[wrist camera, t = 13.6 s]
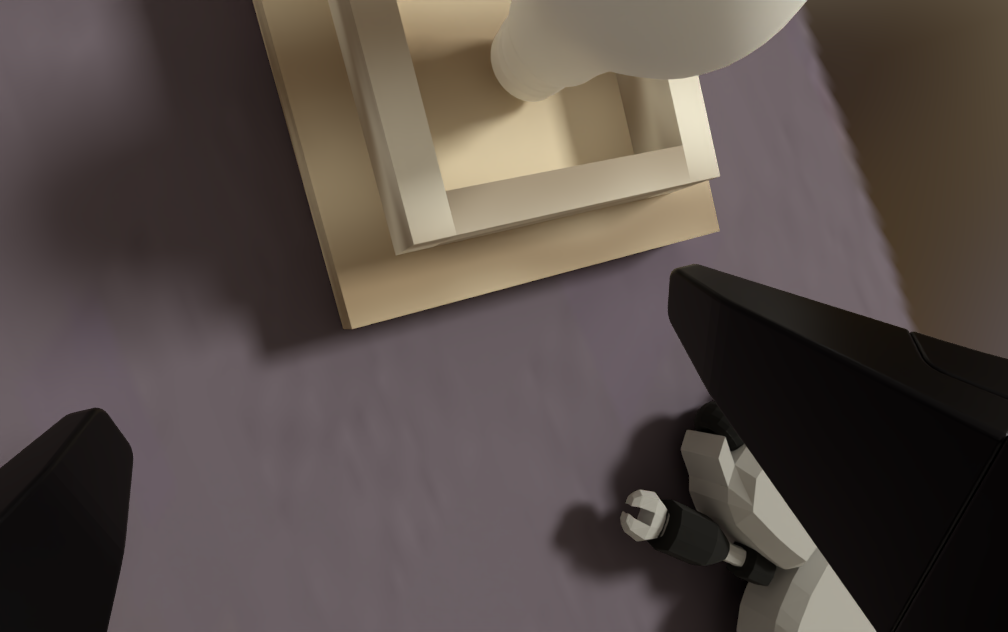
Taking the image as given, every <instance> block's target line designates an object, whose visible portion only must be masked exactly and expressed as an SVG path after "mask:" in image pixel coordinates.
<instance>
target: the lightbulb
mask: <svg viewBox="0 0 1008 632" xmlns="http://www.w3.org/2000/svg"><path fill="white" fill-rule="evenodd" d="M806 1H807V0H512V2H511V4H510V9H509V15H508V16H507V18H506V19H505V21H504V22H503V24H502V25H501V28H500V30H499V32H498V33H497V34H496V36H495V38H494V40H493V43H492V46H491V64H492V68H493V71H494V74H495V76H496V78H497V79H498V81H499V83H500V84H501V85H502V87H503V88H504V89H505V90H506V91H507V92H509V93H510V94H511V95H513V96H514V97H516V98H518V99H520V100H523V101H528V102H538V101H541V100H544V99H546V98H548V97H549V96H552V95H554V94H556V93H557V92H559V91H560V90H562V89H564V88H565V87H574V86H578V85H581V84H584V83H586V82H587V81H589V80H591V79H592V78H594V77H596V76H598V75H600V74H603V73H606V72H614V73H618V74H623V75H629V76H634V77H642V78H651V79H660V80H668V79H683V78H688V77H692V76H697V75H701V74H706V73H709V72H712V71H715V70H718V69H721V68H724V67H727V66H729V65H731V64H732V63H734V62H736V61H738V60H740V59H742V58H743V57H745V56H747V55H749V54H750V53H752V52H753V51H755V50H756V49H757V48H759V47H760V46H762V45H763V44H765V43H766V42H767V41H768V40H769V39H771V38H772V37H773V36H774V35H775V34H776V33H778V32H779V31H780V30H781V29H782V28H783V27H784V26H785V25H786V24H787V23H788V22H789V21H790V20H791V18H792V17H793V16H794V15H795V14H796V13H797V12H798V10H799V9H800V8H801V7H802V6H803V5H804V3H805V2H806Z"/></svg>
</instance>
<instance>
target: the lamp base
mask: <svg viewBox="0 0 1008 632" xmlns="http://www.w3.org/2000/svg"><path fill="white" fill-rule="evenodd" d="M252 1H253V5H254V8H255V12H256V16H257V19H258V23H259V26H260V30H261V34H262V37H263V41H264V44H265V48H266V52H267V55H268V59H269V62H270V66H271V70H272V73H273V77H274V81H275V84H276V88H277V91H278V95H279V99H280V102H281V106H282V109H283V113H284V117H285V120H286V124H287V127H288V131H289V135H290V138H291V142H292V146H293V149H294V153H295V156H296V160H297V164H298V167H299V171H300V174H301V178H302V182H303V185H304V189H305V193H306V196H307V200H308V203H309V207H310V211H311V214H312V218H313V221H314V225H315V229H316V232H317V236H318V239H319V243H320V247H321V250H322V254H323V258H324V261H325V265H326V268H327V272H328V276H329V279H330V283H331V286H332V290H333V294H334V297H335V301H336V304H337V308H338V312H339V315H340V319H341V323H342V326H343V329H355V328H359V327H362V326H366V325H370V324H374V323H377V322H381V321H385V320H389V319H392V318H396V317H400V316H403V315H407V314H411V313H415V312H418V311H422V310H426V309H430V308H433V307H437V306H441V305H445V304H448V303H452V302H456V301H460V300H463V299H467V298H471V297H475V296H478V295H482V294H486V293H490V292H493V291H497V290H501V289H505V288H508V287H512V286H516V285H519V284H523V283H527V282H531V281H534V280H538V279H542V278H546V277H549V276H553V275H557V274H561V273H564V272H568V271H572V270H576V269H579V268H583V267H587V266H591V265H594V264H598V263H602V262H606V261H609V260H613V259H617V258H621V257H624V256H628V255H632V254H635V253H639V252H643V251H647V250H650V249H654V248H658V247H662V246H665V245H669V244H673V243H677V242H680V241H684V240H688V239H692V238H695V237H699V236H703V235H707V234H710V233H714V232H718V231H720V230H719V226H718V221H717V217H716V212H715V207H714V203H713V198H712V194H711V189H710V185H709V180H711V179H713V178H716V177H719V176H720V174H719V169H718V164H717V160H716V155H715V151H714V146H713V142H712V137H711V132H710V128H709V123H708V119H707V114H706V109H705V105H704V100H703V96H702V91H701V87H700V82H699V77H698V75H697V76H692V77H688V78H683V79H668V80H660V79H651V78H642V77H634V76H629V75H623V74H618V73H614V72H606V73H603V74H600V75H598V76H596V77H594V78H592V79H591V80H589V81H587V82H586V83H584V84H581V85H578V86H574V87H565V88H564V89H562V90H560V91H559V92H557V93H556V94H554V95H552V96H549V97H548V98H546V99H544V100H541V101H538V102H528V101H523V100H520V99H518V98H516V97H514V96H513V95H511V94H510V93H509V92H507V91H506V90H505V89H504V88H503V87H502V85H501V84H500V83H499V81H498V79H497V78H496V76H495V74H494V71H493V68H492V64H491V46H492V43H493V40H494V38H495V36H496V34H497V33H498V32H499V30H500V28H501V25H502V24H503V22H504V21H505V19H506V18H507V16H508V15H509V9H510V4H511V2H512V0H252Z"/></svg>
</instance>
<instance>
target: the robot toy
mask: <svg viewBox="0 0 1008 632" xmlns="http://www.w3.org/2000/svg"><path fill="white" fill-rule="evenodd" d="M694 424H695V429H696V431H692V430H686V434H685V437H684V440H683V443H682V446H681V453H682V456H683V459H684V462H685V465H686V468H687V470H688V473H689V492H690V494H691V497H692V500H693V502H694V505H695V508H696V510H697V511H696V510H694V509H692V508H690V507H687V506H685V505H683V504H681V503H679V502H676V501H674V500H672V499H670V500H660V499H659V497H658V496H657V495H656V493H655V492H651V491H645V490H637V491H634V492H632V493H631V494H630V495H629V496H628V498H627V500H626V504H629V505H631V506H635V507H640V508H641V509H640V512H639V514H638V517H637V519H635V518H633V517H632V516H631V515H630V514H629V513H625V512H624V511H622V514H621V517H620V520H621V526H622V528H623V530H624V532H625V533H627V534H628V535H629V536H630V537H632V538H633V539H634V540H636V541H643V540H647V541H648V542H649V543H650V544H651V546H652V547H653V548H654V549H656V550H658V551H660V552H663V553H665V554H668V555H670V556H672V557H675V558H677V559H680V560H682V561H684V562H687V563H689V564H694V565H702V566H707V565H711V564H715V563H718V562H721V561H725V562H727V568H728V569H729V570H730V571H731V572H732V573H733V574H734V575H735V576H736V577H739V578H741V579H744V580H746V581H748V584H747V586H746V589H745V592H744V595H743V598H742V601H741V604H740V608H739V615H738V623H737V632H876V630H875V629H874V627H873V626H872V625H871V623H870V622H869V620H868V619H867V618H866V616H865V615H864V613H863V612H862V610H861V609H860V608H859V606H858V605H857V603H856V602H855V600H854V599H853V598H852V596H851V595H850V593H849V592H848V590H847V589H846V588H845V586H844V585H843V583H842V582H841V581H840V579H839V578H838V576H837V575H836V573H835V572H834V571H833V569H832V568H831V566H830V565H829V563H828V562H827V561H826V559H825V558H824V556H823V555H822V553H821V552H820V551H819V549H818V548H817V546H816V545H815V544H814V542H813V541H812V539H811V538H810V536H809V535H808V534H807V532H806V531H805V529H804V528H803V526H802V525H801V524H800V522H799V521H798V519H797V518H796V516H795V515H794V514H793V512H792V511H791V509H790V508H789V507H788V505H787V504H786V502H785V501H784V499H783V498H782V497H781V495H780V494H779V492H778V491H777V489H776V488H775V487H774V485H773V484H772V482H771V481H770V479H769V478H768V477H767V475H766V474H765V472H764V471H763V469H762V468H761V467H760V465H759V464H758V462H757V461H756V460H755V458H754V457H753V455H752V454H751V452H750V451H749V450H748V448H747V447H746V445H745V444H744V442H743V441H742V440H741V438H740V437H739V435H738V434H737V432H736V431H735V430H734V428H733V427H732V425H731V424H730V423H729V421H728V420H727V418H726V417H725V415H724V414H723V413H722V411H721V410H720V408H719V407H718V405H717V404H716V403H715V401H713V402H709V403H706V404H705V405H703V406H702V407H701V408H700V410H699V411H698V412H697V414H696V416H695V419H694ZM729 541H730V542H729Z"/></svg>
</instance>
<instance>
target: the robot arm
mask: <svg viewBox="0 0 1008 632" xmlns="http://www.w3.org/2000/svg"><path fill="white" fill-rule="evenodd" d="M668 316H669V319H670V322H671V324H672V326H673V328H674V330H675V332H676V334H677V335H678V337H679V339H680V341H681V343H682V345H683V346H684V348H685V350H686V352H687V354H688V356H689V358H690V359H691V361H692V363H693V365H694V367H695V369H696V371H697V372H698V374H699V376H700V378H701V380H702V382H703V383H704V385H705V387H706V389H707V390H708V392H709V394H710V395H711V397H712V398H713V400H714V401H715V403H716V404H717V405H718V407H719V408H720V410H721V411H722V413H723V414H724V415H725V417H726V418H727V420H728V421H729V423H730V424H731V425H732V427H733V428H734V430H735V431H736V432H737V434H738V435H739V437H740V438H741V440H742V441H743V442H744V444H745V445H746V447H747V448H748V450H749V451H750V452H751V454H752V455H753V457H754V458H755V460H756V461H757V462H758V464H759V465H760V467H761V468H762V469H763V471H764V472H765V474H766V475H767V477H768V478H769V479H770V481H771V482H772V484H773V485H774V487H775V488H776V489H777V491H778V492H779V494H780V495H781V497H782V498H783V499H784V501H785V502H786V504H787V505H788V507H789V508H790V509H791V511H792V512H793V514H794V515H795V516H796V518H797V519H798V521H799V522H800V524H801V525H802V526H803V528H804V529H805V531H806V532H807V534H808V535H809V536H810V538H811V539H812V541H813V542H814V544H815V545H816V546H817V548H818V549H819V551H820V552H821V553H822V555H823V556H824V558H825V559H826V561H827V562H828V563H829V565H830V566H831V568H832V569H833V571H834V572H835V573H836V575H837V576H838V578H839V579H840V581H841V582H842V583H843V585H844V586H845V588H846V589H847V590H848V592H849V593H850V595H851V596H852V598H853V599H854V600H855V602H856V603H857V605H858V606H859V608H860V609H861V610H862V612H863V613H864V615H865V616H866V618H867V619H868V620H869V622H870V623H871V625H872V626H873V627H874V629H875V630H876V632H1008V359H1006V358H1002V357H998V356H994V355H991V354H987V353H983V352H980V351H977V350H973V349H969V348H967V347H963V346H960V345H956V344H953V343H950V342H946V341H943V340H939V339H936V338H933V337H930V336H927V335H924V334H921V333H917V332H911V333H909V331H908V330H907V329H904V328H901V327H898V326H895V325H891V324H888V323H885V322H882V321H878V320H875V319H872V318H869V317H866V316H862V315H859V314H856V313H853V312H850V311H846V310H843V309H840V308H837V307H833V306H830V305H827V304H824V303H821V302H817V301H814V300H811V299H808V298H805V297H801V296H798V295H795V294H792V293H789V292H785V291H782V290H779V289H776V288H772V287H769V286H766V285H763V284H760V283H756V282H753V281H750V280H747V279H744V278H740V277H737V276H734V275H731V274H728V273H724V272H721V271H718V270H715V269H712V268H708V267H705V266H702V265H699V264H692V265H687V266H683V267H679V268H676V269H674V270H673V271H672V272H671V275H670V282H669V297H668ZM132 468H133V453H132V449H131V446H130V444H129V443H128V441H127V440H126V438H125V437H124V436H123V434H122V433H121V432H120V430H119V429H118V427H117V426H116V425H115V423H114V422H113V420H112V419H111V418H110V416H109V415H108V414H107V413H106V412H105V411H104V410H103V409H100V408H91V409H87V410H83V411H78V412H74V413H70V414H68V415H66V416H65V417H63V418H62V419H61V420H59V421H58V422H57V423H56V424H54V425H53V426H52V427H51V428H50V429H48V430H47V431H46V432H45V433H43V434H42V435H41V436H40V437H38V438H37V439H36V440H35V441H33V442H32V443H31V444H30V445H28V446H27V447H26V448H25V449H23V450H22V451H21V452H20V453H18V454H17V455H16V456H15V457H13V458H12V459H11V460H10V461H9V462H7V463H6V464H5V465H4V466H2V467H1V468H0V632H107V630H108V625H109V620H110V616H111V611H112V607H113V602H114V598H115V593H116V589H117V584H118V579H119V575H120V570H121V565H122V560H123V555H124V548H125V541H126V532H127V521H128V511H129V500H130V489H131V479H132Z"/></svg>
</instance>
